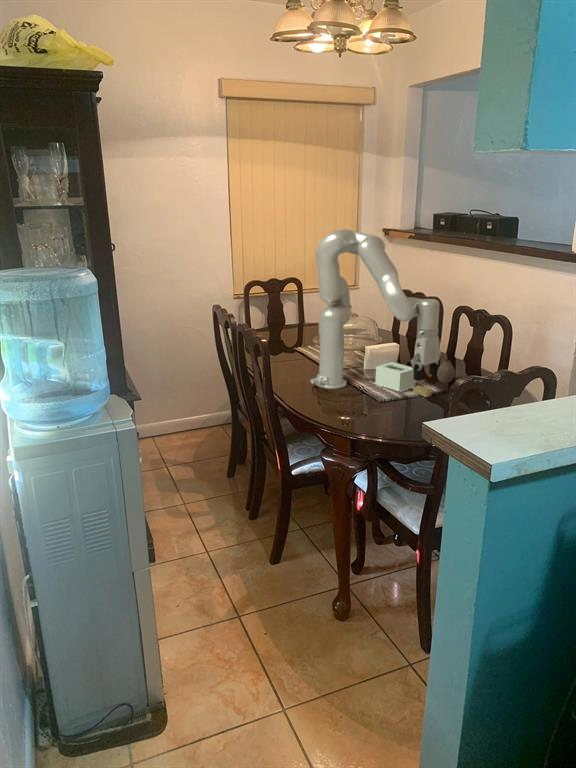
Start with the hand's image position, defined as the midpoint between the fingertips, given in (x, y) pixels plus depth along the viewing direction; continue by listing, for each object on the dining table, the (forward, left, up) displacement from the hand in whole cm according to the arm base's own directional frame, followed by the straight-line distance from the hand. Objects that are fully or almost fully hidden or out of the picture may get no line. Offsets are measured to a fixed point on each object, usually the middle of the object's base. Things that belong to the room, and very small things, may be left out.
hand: (425, 377), depth 213 cm
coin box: (0, +14, -7) cm, 15 cm away
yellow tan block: (0, +1, -7) cm, 7 cm away
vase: (+21, +5, -7) cm, 22 cm away
